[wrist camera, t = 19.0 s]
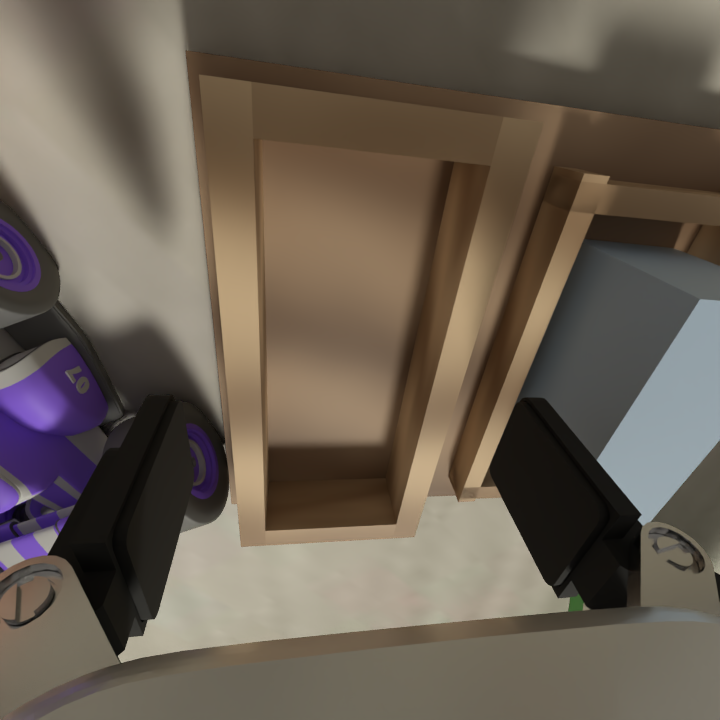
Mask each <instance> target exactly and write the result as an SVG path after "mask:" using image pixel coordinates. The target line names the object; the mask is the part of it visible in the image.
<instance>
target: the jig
mask: <svg viewBox="0 0 720 720" xmlns="http://www.w3.org/2000/svg"><path fill="white" fill-rule="evenodd" d="M186 58H187V68H188V78H189V88H190V98H191V108H192V118H193V127H194V137H195V147H196V157H197V167H198V177H199V187H200V197H201V206H202V216H203V226H204V236H205V246H206V256H207V266H208V276H209V285H210V295H211V305H212V315H213V325H214V335H215V345H216V354H217V364H218V374H219V384H220V394H221V404H222V414H223V424H224V433H225V443H226V453H227V463H228V471H229V483H230V493H231V503H232V504H237V507H238V518H239V529H240V540H241V547H246V546H264V545H282V544H299V543H317V542H335V541H352V540H370V539H388V538H405V537H414V536H415V533H416V530H417V527H418V524H419V520H420V517H421V514H422V511H423V508H424V504H425V501H426V498H427V497H428V496H454V495H456V497H457V500H458V502H468V501H475V499H476V498H500V497H501V495H500V493H499V491H498V489H497V487H496V485H495V483H494V481H493V479H492V477H491V475H490V469H489V468H490V463H491V461H492V458H493V456H494V453H495V451H496V448H497V446H498V444H499V441H500V439H501V436H502V434H503V432H504V429H505V427H506V424H507V422H508V420H509V417H510V415H511V412H512V410H513V408H514V405H515V403H516V401H517V398H518V396H519V393H520V391H521V389H522V386H523V384H524V381H525V379H526V377H527V374H528V372H529V369H530V367H531V365H532V362H533V360H534V357H535V355H536V353H537V350H538V348H539V345H540V343H541V341H542V338H543V336H544V333H545V331H546V329H547V326H548V324H549V321H550V319H551V317H552V314H553V312H554V309H555V307H556V305H557V302H558V300H559V297H560V295H561V293H562V290H563V288H564V286H565V283H566V281H567V278H568V276H569V274H570V271H571V269H572V266H573V264H574V262H575V259H576V257H577V254H578V252H579V250H580V247H581V245H582V242H583V240H584V239H589V240H599V241H609V242H618V243H628V244H638V245H648V246H657V247H667V248H675V249H677V250H680V251H682V252H685V253H688V254H690V255H693V256H695V257H698V258H700V259H703V260H706V261H708V262H711V263H713V264H716V265H718V266H720V130H719V129H713V128H706V127H699V126H692V125H686V124H679V123H672V122H665V121H659V120H652V119H645V118H638V117H632V116H625V115H618V114H611V113H605V112H598V111H591V110H584V109H578V108H571V107H564V106H557V105H551V104H544V103H537V102H530V101H524V100H517V99H510V98H503V97H497V96H490V95H483V94H476V93H470V92H463V91H456V90H449V89H443V88H436V87H429V86H422V85H416V84H409V83H402V82H395V81H389V80H382V79H375V78H368V77H362V76H355V75H348V74H341V73H335V72H328V71H321V70H314V69H308V68H301V67H294V66H287V65H281V64H274V63H267V62H260V61H254V60H247V59H240V58H234V57H227V56H220V55H213V54H207V53H200V52H193V51H186Z"/></svg>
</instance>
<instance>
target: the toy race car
mask: <svg viewBox="0 0 720 720" xmlns="http://www.w3.org/2000/svg"><path fill="white" fill-rule="evenodd" d="M59 293H60V276H59V272H58V269H57V266H56V264H55V263H54V261H53V259H52V258H51V256H50V255H49V253H48V252H47V251H46V249H45V248H44V247H43V245H42V244H41V243H40V242H39V240H38V239H37V238H36V237H35V235H34V234H33V233H32V232H31V230H30V229H29V228H28V227H27V226H26V224H25V223H24V222H23V221H22V220H21V219H20V217H19V216H18V215H17V214H16V213H15V212H14V211H13V210H12V209H11V208H10V207H8V206H7V205H6V204H5V203H3V202H2V201H0V573H2V572H4V571H5V570H7V569H8V568H10V567H11V566H13V565H15V564H17V563H20V562H22V561H24V560H26V559H29V558H34V557H38V556H42V555H46V556H47V555H48V553H49V551H50V550H51V548H52V546H53V544H54V542H55V541H56V539H57V537H58V535H59V533H60V532H61V530H62V528H63V526H64V524H65V523H66V521H67V519H68V517H69V515H70V513H71V512H72V510H73V508H74V506H75V504H76V503H77V501H78V499H79V497H80V495H81V494H82V492H83V490H84V488H85V486H86V485H87V483H88V481H89V479H90V477H91V476H92V474H93V472H94V470H95V468H96V467H97V465H98V463H99V461H100V459H101V458H102V456H103V454H104V453H105V452H106V450H108V449H109V448H120V446H121V444H122V442H123V441H124V439H125V437H126V435H127V433H128V431H129V429H130V427H131V425H132V423H133V421H134V419H135V417H133V418H130V419H128V420H126V421H124V422H122V423H120V424H119V425H118V426H116V428H115V429H114V430H113V431H112V432H111V434H110V435H109V437H107V436H106V435H105V434H104V433H103V431H102V430H101V429H100V428H99V427H98V426H101V425H104V424H106V423H109V422H112V421H115V420H117V419H119V418H121V417H122V416H123V414H124V408H123V405H122V403H121V401H120V399H119V397H118V395H117V393H116V391H115V389H114V387H113V385H112V384H111V382H110V380H109V378H108V376H107V374H106V372H105V370H104V368H103V366H102V364H101V362H100V360H99V359H98V357H97V355H96V353H95V351H94V349H93V347H92V345H91V344H90V342H89V340H88V339H87V337H86V335H85V334H84V333H83V331H82V330H81V329H80V327H79V326H78V325H77V324H76V322H75V321H74V320H73V319H72V318H71V316H70V315H69V314H68V313H67V312H66V311H65V309H64V308H63V307H62V306H61V305H60V304H59V302H58V301H57V299H58V297H59ZM182 404H183V410H184V416H185V421H186V427H187V433H188V439H189V445H190V451H191V457H192V463H193V468H194V483H193V487H192V491H191V495H190V498H189V502H188V505H187V509H186V513H185V516H184V520H183V524H182V527H181V531H180V533H182V532H185V531H188V530H191V529H194V528H197V527H200V526H203V525H206V524H209V523H211V522H213V521H214V520H216V519H217V518H218V517H219V516H220V514H221V513H222V511H223V509H224V507H225V504H226V501H227V497H228V491H229V471H228V463H227V458H226V454H225V450H224V447H223V444H222V441H221V439H220V437H219V435H218V433H217V432H216V430H215V429H214V427H213V426H212V425H211V423H210V422H209V421H208V419H207V418H206V417H205V416H204V415H203V414H202V412H201V411H200V410H199V409H198V408H197V407H195V406H194V405H193V404H190V403H186V402H182Z"/></svg>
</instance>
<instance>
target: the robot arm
mask: <svg viewBox="0 0 720 720" xmlns="http://www.w3.org/2000/svg"><path fill="white" fill-rule="evenodd" d="M489 469H490V475H491V477H492V479H493V481H494V483H495V485H496V487H497V489H498V491H499V493H500V495H501V497H502V499H503V501H504V503H505V505H506V507H507V509H508V511H509V513H510V514H511V516H512V518H513V520H514V522H515V524H516V526H517V528H518V530H519V532H520V534H521V536H522V538H523V540H524V542H525V544H526V546H527V548H528V550H529V551H530V553H531V555H532V557H533V559H534V561H535V563H536V565H537V567H538V569H539V571H540V573H541V575H542V577H543V579H544V580H545V582H546V583H547V584H548V585H550V586H552V588H553V590H554V592H555V593H556V595H557V597H558V598H566V597H576V596H577V595H578V594H579V595H580V597H581V598H582V600H583V602H584V604H583V610H581V611H570V612H559V613H548V614H537V615H526V616H515V617H504V618H493V619H483V620H473V621H462V622H452V623H441V624H431V625H421V626H410V627H400V628H390V629H380V630H370V631H360V632H350V633H340V634H330V635H321V636H311V637H301V638H291V639H281V640H272V641H262V642H253V643H245V644H237V645H228V646H220V647H212V648H203V649H195V650H187V651H180V652H174V653H168V654H162V655H156V656H150V657H145V658H139V659H136V660H132V661H128V662H124V663H121V662H120V660H119V658H118V655H119V654H120V653H122V652H123V651H124V650H125V647H126V644H127V641H128V637H134V636H143V634H144V631H145V627H146V624H147V620H150V619H155V617H156V616H157V613H158V610H159V607H160V603H161V600H162V596H163V592H164V589H165V585H166V582H167V578H168V574H169V571H170V567H171V563H172V560H173V556H174V553H175V549H176V545H177V542H178V538H179V534H180V531H181V527H182V524H183V520H184V516H185V513H186V509H187V505H188V502H189V498H190V495H191V491H192V487H193V483H194V468H193V463H192V457H191V451H190V445H189V439H188V433H187V427H186V421H185V416H184V410H183V404H182V402H181V401H175V398H174V396H173V395H148V396H147V397H146V398H145V400H144V402H143V404H142V406H141V408H140V410H139V412H138V413H137V415H136V417H135V419H134V421H133V423H132V425H131V427H130V429H129V431H128V433H127V435H126V437H125V439H124V441H123V442H122V444H121V446H120V448H109V449H108V450H106V452H105V453H104V454H103V456H102V458H101V459H100V461H99V463H98V465H97V467H96V468H95V470H94V472H93V474H92V476H91V477H90V479H89V481H88V483H87V485H86V486H85V488H84V490H83V492H82V494H81V495H80V497H79V499H78V501H77V503H76V504H75V506H74V508H73V510H72V512H71V513H70V515H69V517H68V519H67V521H66V523H65V524H64V526H63V528H62V530H61V532H60V533H59V535H58V537H57V539H56V541H55V542H54V544H53V546H52V548H51V550H50V551H49V553H48V555H47V556H46V555H42V556H38V557H34V558H29V559H26V560H24V561H22V562H20V563H17V564H15V565H13V566H11V567H10V568H8V569H7V570H5V571H4V572H2V573H0V720H720V575H719V574H717V573H716V572H714V567H713V565H712V562H711V559H710V557H709V556H708V555H707V553H706V552H705V550H704V549H703V548H702V547H701V546H700V545H699V544H698V543H697V542H696V541H695V540H694V539H692V538H691V537H690V536H689V535H687V534H686V533H684V532H683V531H681V530H679V529H677V528H676V527H674V526H671V525H668V524H665V523H661V522H655V521H654V522H648V523H646V524H645V525H643V526H642V524H641V523H640V522H639V521H638V519H639V518H640V516H641V515H642V514H641V513H640V512H639V511H638V509H637V508H636V507H635V506H634V505H633V503H632V502H631V501H630V500H629V499H628V497H627V496H626V495H625V494H624V493H623V491H622V490H621V489H620V488H619V487H618V485H617V484H616V483H615V482H614V481H613V479H612V478H611V477H610V476H609V475H608V473H607V472H606V471H605V470H604V469H603V467H602V466H601V465H600V464H599V463H598V461H597V460H596V459H595V458H594V457H593V455H592V454H591V453H590V452H589V450H588V449H587V448H586V447H585V446H584V444H583V443H582V442H581V441H580V440H579V438H578V437H577V436H576V435H575V434H574V432H573V431H572V430H571V429H570V428H569V426H568V425H567V424H566V423H565V422H564V420H563V419H562V418H561V417H560V416H559V414H558V413H557V412H556V411H555V410H554V408H553V407H552V406H551V405H550V404H549V402H548V401H547V400H546V399H545V398H540V397H525V398H522V399H521V400H520V402H518V403H516V404H515V406H514V408H513V410H512V413H511V415H510V418H509V420H508V422H507V425H506V427H505V429H504V432H503V434H502V437H501V439H500V441H499V444H498V446H497V449H496V451H495V453H494V456H493V458H492V461H491V463H490V468H489Z"/></svg>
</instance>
